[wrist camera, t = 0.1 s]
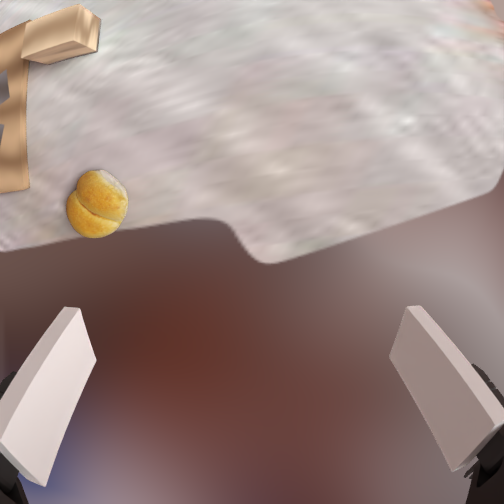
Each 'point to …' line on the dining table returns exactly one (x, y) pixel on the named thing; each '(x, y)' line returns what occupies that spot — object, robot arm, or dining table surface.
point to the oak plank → (13, 111)
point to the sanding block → (61, 35)
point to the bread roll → (97, 204)
